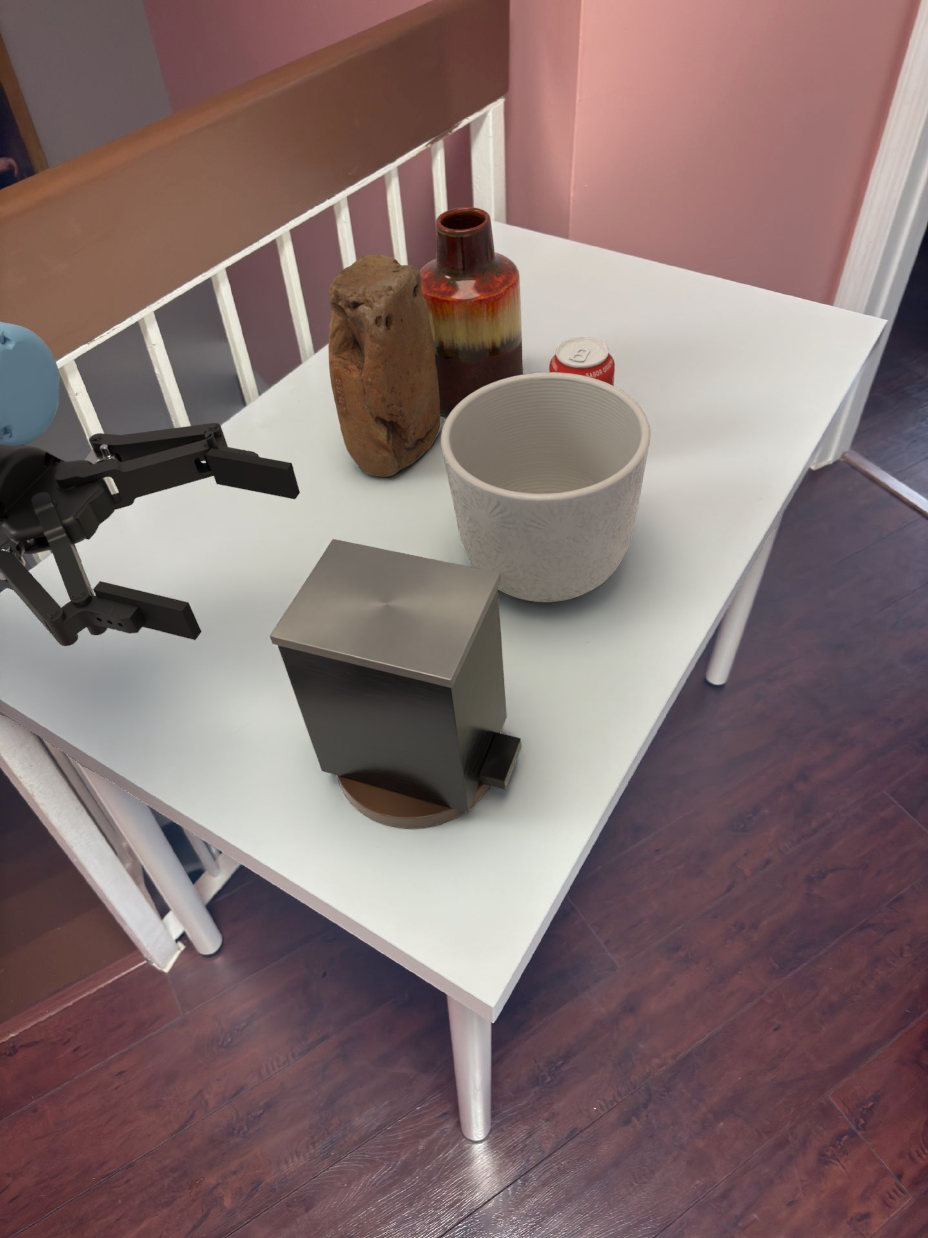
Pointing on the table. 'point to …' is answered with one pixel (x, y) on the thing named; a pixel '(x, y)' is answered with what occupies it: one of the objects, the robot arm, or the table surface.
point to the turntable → (399, 805)
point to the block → (383, 364)
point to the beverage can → (584, 359)
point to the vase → (471, 307)
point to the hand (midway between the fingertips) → (246, 546)
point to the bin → (401, 672)
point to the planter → (546, 480)
